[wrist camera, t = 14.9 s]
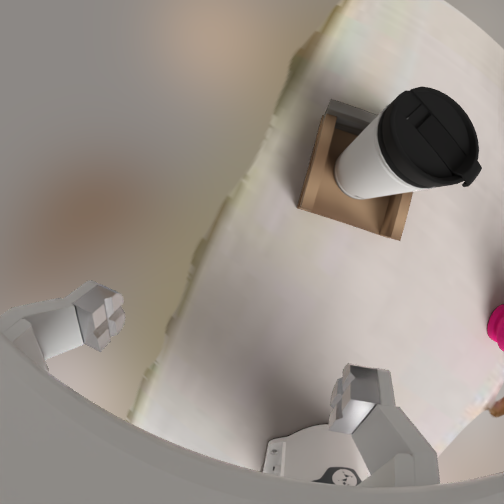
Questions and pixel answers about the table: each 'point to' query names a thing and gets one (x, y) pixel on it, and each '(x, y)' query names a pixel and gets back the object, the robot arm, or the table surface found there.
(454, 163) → the travel mug
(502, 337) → the pepper mill
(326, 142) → the cradle
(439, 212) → the table surface
